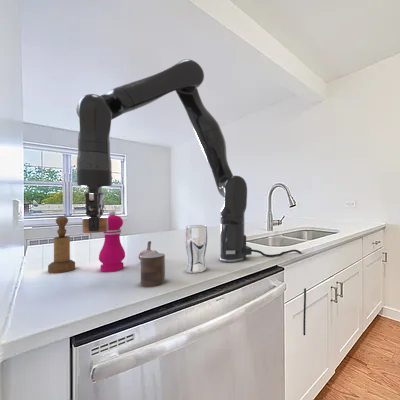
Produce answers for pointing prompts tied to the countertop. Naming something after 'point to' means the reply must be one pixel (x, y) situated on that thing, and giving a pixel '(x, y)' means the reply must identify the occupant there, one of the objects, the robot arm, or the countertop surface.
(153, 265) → the walnut chip high
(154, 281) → the cylinder
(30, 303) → the countertop surface
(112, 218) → the pepper mill
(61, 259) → the wooden knobbed stamp
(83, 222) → the brown wooden short cylinder
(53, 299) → the countertop surface
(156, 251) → the garlic bulb
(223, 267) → the countertop surface
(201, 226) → the beer glass
